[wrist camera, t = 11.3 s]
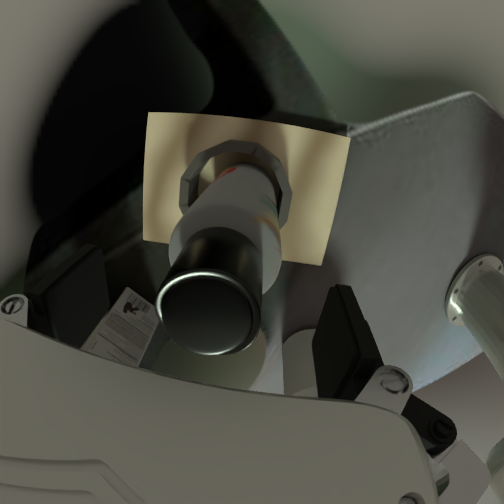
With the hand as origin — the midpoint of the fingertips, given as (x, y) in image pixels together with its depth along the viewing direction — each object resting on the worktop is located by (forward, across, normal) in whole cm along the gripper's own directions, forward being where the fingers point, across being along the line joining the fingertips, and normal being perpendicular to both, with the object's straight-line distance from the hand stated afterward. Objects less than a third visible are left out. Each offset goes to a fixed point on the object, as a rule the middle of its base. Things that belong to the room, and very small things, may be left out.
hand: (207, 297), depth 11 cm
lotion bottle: (+18, 0, 0) cm, 18 cm away
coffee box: (+20, +14, +20) cm, 31 cm away
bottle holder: (+19, +1, 0) cm, 19 cm away
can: (+20, -11, +20) cm, 30 cm away
